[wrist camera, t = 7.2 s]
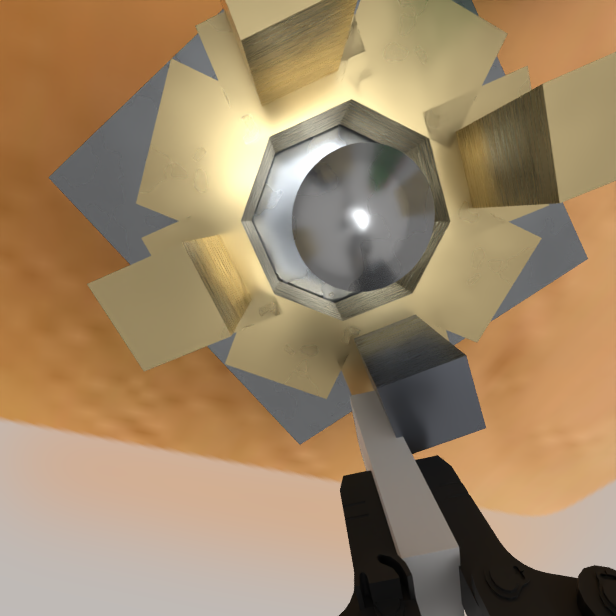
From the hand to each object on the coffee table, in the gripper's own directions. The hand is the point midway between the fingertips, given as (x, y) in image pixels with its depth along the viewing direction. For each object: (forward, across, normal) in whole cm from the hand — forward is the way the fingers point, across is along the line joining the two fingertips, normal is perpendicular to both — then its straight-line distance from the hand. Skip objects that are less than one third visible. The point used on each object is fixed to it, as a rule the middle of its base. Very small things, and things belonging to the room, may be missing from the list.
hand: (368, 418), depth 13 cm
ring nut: (+4, +1, +9) cm, 10 cm away
